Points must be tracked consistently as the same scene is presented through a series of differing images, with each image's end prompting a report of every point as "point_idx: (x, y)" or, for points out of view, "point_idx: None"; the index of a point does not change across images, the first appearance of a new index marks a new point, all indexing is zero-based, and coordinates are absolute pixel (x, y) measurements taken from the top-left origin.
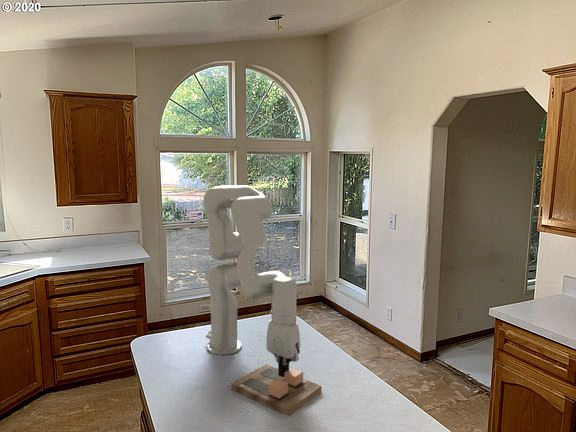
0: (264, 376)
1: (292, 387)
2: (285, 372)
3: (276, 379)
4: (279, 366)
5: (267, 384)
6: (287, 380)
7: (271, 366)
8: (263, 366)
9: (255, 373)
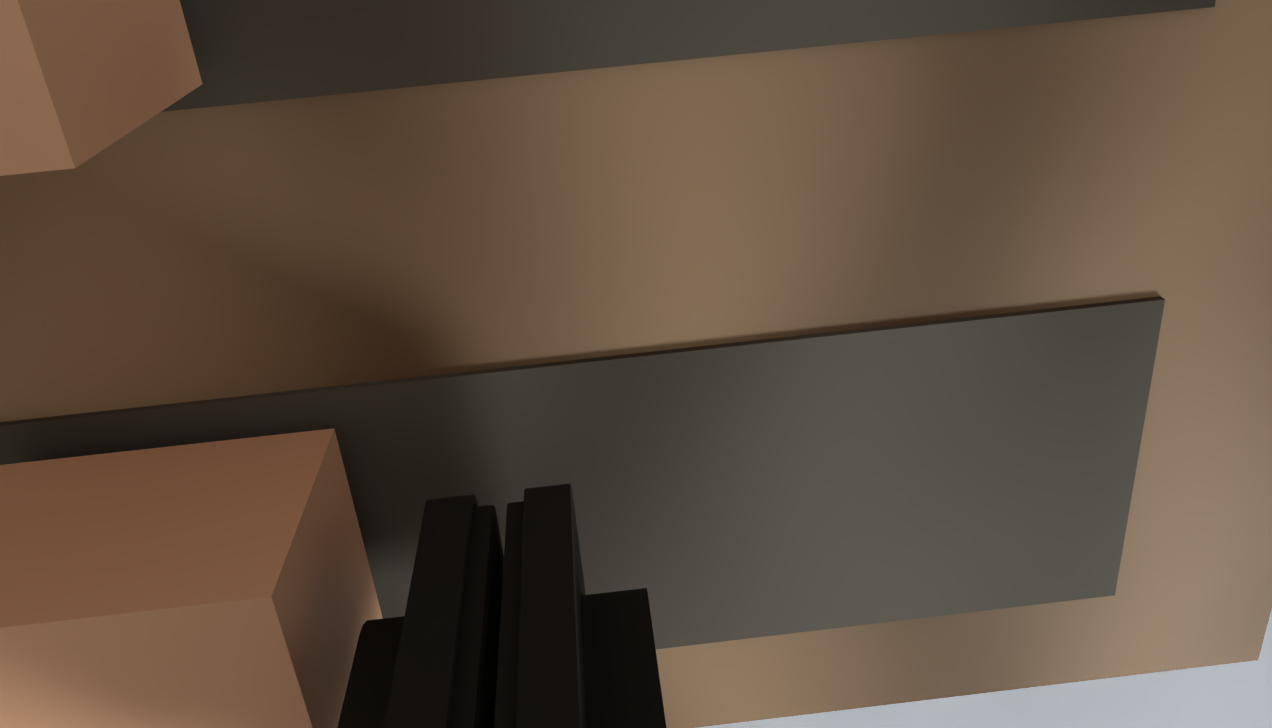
0: (960, 300)
1: (54, 417)
2: (266, 623)
3: (6, 82)
4: (529, 688)
5: (602, 62)
6: (212, 482)
7: (1102, 672)
8: (1254, 569)
9: (1247, 244)
